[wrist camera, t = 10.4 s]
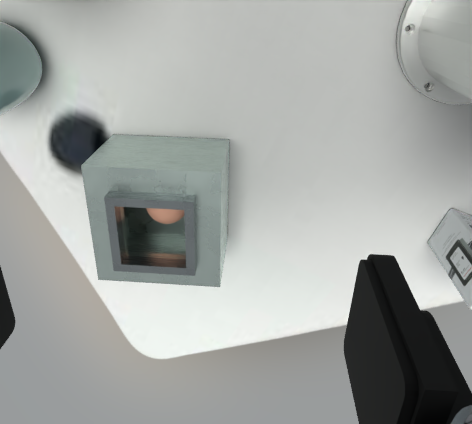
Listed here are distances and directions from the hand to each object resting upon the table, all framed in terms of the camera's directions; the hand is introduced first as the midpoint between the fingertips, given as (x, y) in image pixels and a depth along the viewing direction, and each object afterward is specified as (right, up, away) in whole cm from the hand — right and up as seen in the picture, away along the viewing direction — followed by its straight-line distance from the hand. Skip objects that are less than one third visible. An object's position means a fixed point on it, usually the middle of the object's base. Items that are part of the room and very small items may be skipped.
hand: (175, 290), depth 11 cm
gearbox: (-5, +4, +36) cm, 36 cm away
